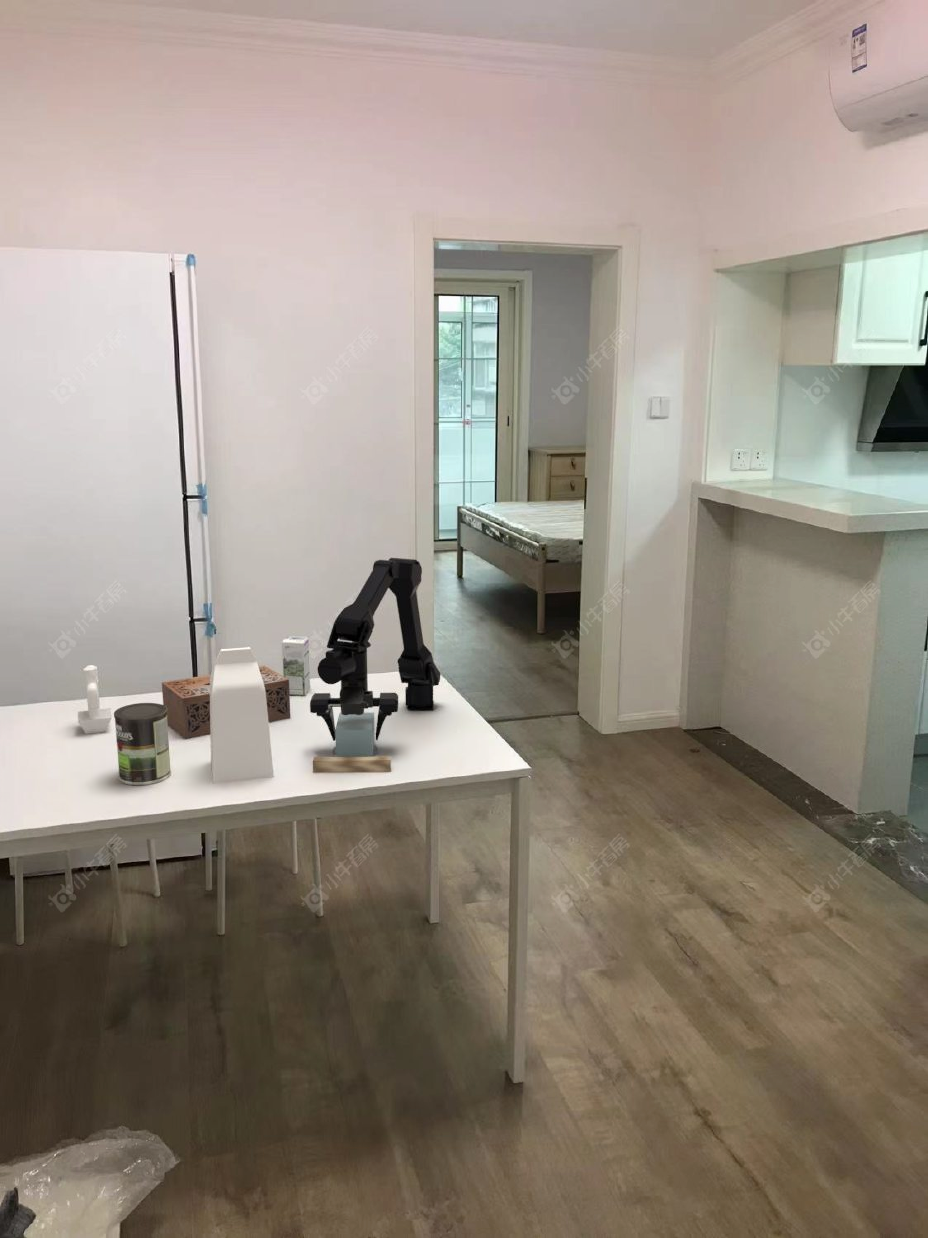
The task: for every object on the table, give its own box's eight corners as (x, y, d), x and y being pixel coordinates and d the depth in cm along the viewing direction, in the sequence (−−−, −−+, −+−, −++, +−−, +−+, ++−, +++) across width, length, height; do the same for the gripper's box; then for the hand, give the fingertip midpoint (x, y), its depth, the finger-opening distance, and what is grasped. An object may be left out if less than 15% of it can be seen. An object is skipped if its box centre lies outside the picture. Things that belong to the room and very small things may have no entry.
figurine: (79, 738, 225) (73, 674, 222) (79, 725, 234) (73, 663, 230) (112, 734, 228) (107, 671, 224) (111, 721, 236) (106, 660, 233)
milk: (213, 783, 201) (206, 658, 195) (210, 762, 212) (203, 644, 206) (273, 776, 204) (268, 654, 198) (268, 756, 215) (263, 640, 209)
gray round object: (379, 742, 223) (379, 741, 223) (377, 759, 214) (377, 758, 214) (334, 742, 223) (334, 742, 223) (330, 759, 213) (330, 758, 213)
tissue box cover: (185, 740, 225) (182, 698, 223) (164, 722, 237) (161, 682, 234) (290, 719, 239) (288, 679, 237) (265, 703, 251) (264, 665, 248)
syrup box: (311, 689, 261) (309, 636, 258) (305, 696, 255) (303, 641, 252) (289, 688, 262) (287, 635, 258) (283, 695, 256) (281, 641, 253)
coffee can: (133, 790, 197) (128, 722, 194) (110, 775, 204) (104, 710, 201) (181, 776, 204) (176, 710, 201) (156, 762, 211) (152, 699, 208)
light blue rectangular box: (374, 741, 224) (374, 712, 223) (372, 759, 213) (371, 729, 212) (340, 741, 224) (339, 712, 222) (336, 760, 213) (335, 730, 211)
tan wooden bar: (390, 767, 209) (390, 756, 208) (390, 771, 207) (390, 760, 206) (314, 768, 208) (313, 757, 208) (313, 772, 206) (312, 760, 206)
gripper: (305, 683, 206) (308, 754, 210) (396, 682, 207) (397, 753, 210) (311, 667, 217) (314, 735, 221) (397, 667, 218) (398, 734, 221)
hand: (355, 740), depth 218 cm, fingers open, 9 cm apart
